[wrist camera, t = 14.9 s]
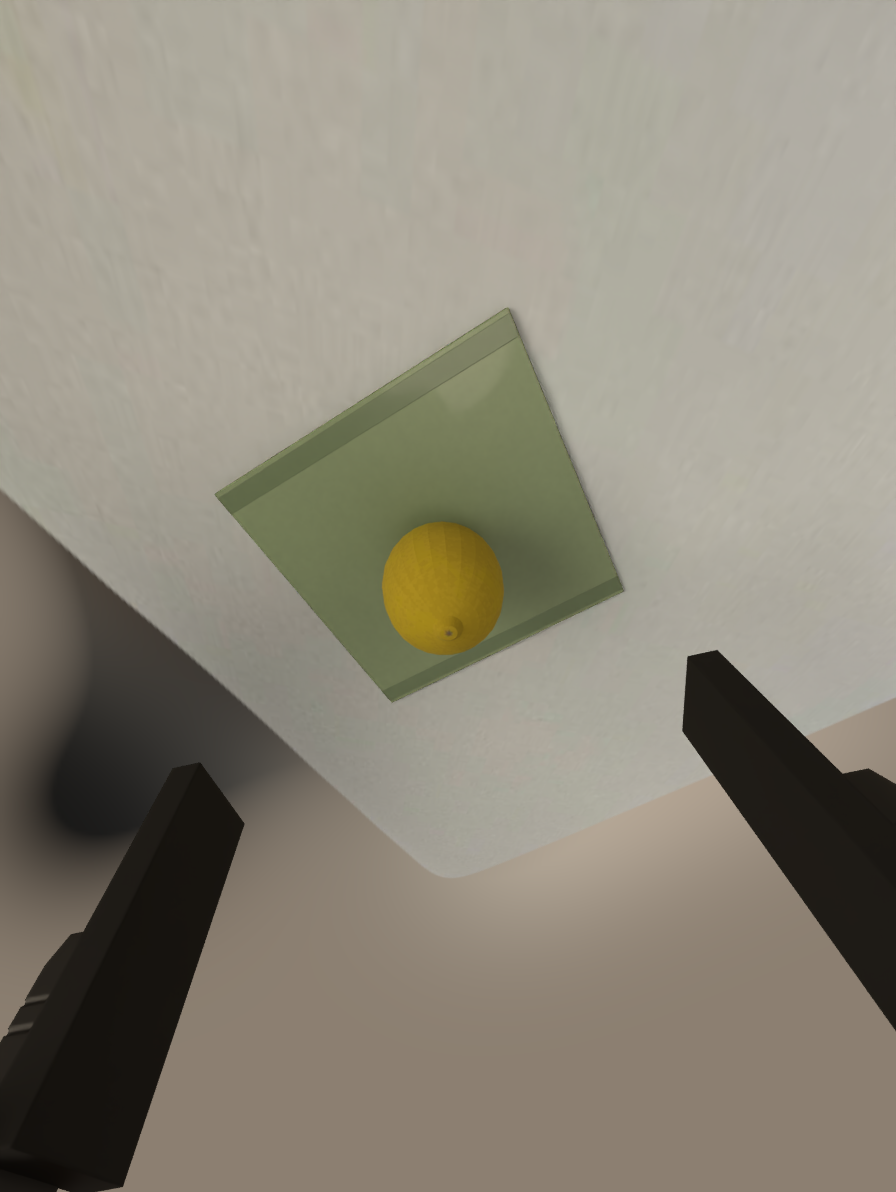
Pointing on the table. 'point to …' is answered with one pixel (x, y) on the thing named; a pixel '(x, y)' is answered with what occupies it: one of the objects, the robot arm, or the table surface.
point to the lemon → (443, 588)
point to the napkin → (431, 503)
